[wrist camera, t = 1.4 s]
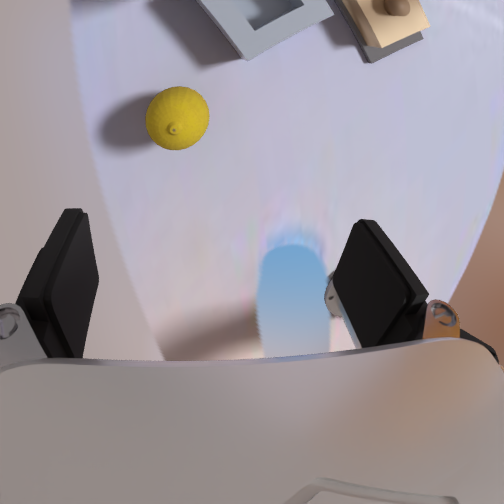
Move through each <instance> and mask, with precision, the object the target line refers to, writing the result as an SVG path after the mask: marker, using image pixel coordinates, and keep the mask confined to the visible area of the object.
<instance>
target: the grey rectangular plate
mask: <svg viewBox="0 0 504 504" xmlns="http://www.w3.org/2000/svg"><path fill="white" fill-rule="evenodd" d="M334 1H335V2H336V4H337V6H338V7H339V9H340V11H341V12H342V14H343V16H344V17H345V19H346V21H347V23H348V24H349V26H350V28H351V30H352V31H353V33H354V35H355V37H356V39H357V41H358V43H359V44H360V46H361V48H362V50H363V52H364V54H365V56H366V58H367V60H368V62H369V63H371V64H372V63H374V62H376V61H378V60H380V59H382V58H384V57H386V56H388V55H390V54H392V53H394V52H396V51H398V50H400V49H402V48H404V47H407V46H409V45H411V44H413V43H415V42H418V41H420V40H422V39H423V37H422V34H421V32H420V31H419V32H416V33H414V34H412V35H409V36H407V37H405V38H403V39H400V40H398V41H396V42H394V43H392V44H390V45H387V46H385V47H383V48H378V47H372V46H367V44H366V42H365V40H364V39H363V37H362V35H361V33H360V31H359V29H358V27H357V26H356V24H355V22H354V20H353V18H352V17H351V15H350V13H349V12H348V10H347V8H346V6H345V5H344V3H343V1H342V0H334Z"/></svg>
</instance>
